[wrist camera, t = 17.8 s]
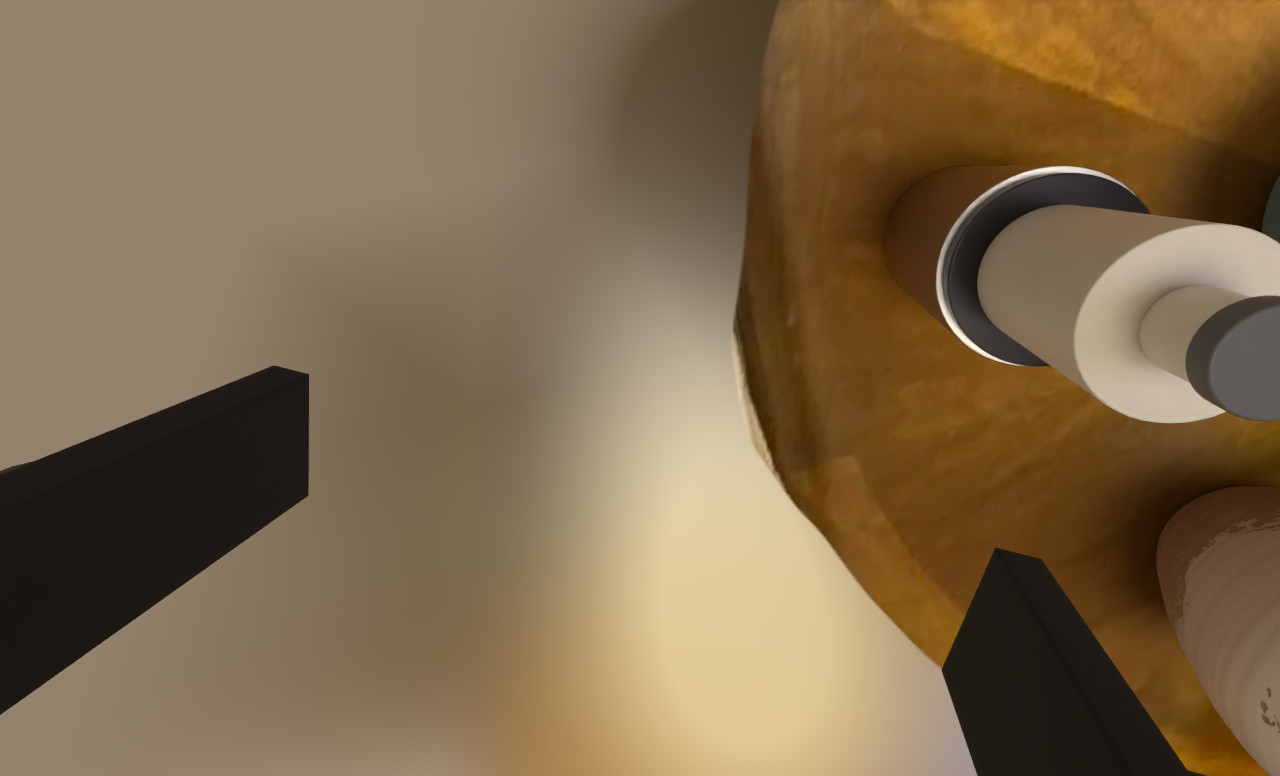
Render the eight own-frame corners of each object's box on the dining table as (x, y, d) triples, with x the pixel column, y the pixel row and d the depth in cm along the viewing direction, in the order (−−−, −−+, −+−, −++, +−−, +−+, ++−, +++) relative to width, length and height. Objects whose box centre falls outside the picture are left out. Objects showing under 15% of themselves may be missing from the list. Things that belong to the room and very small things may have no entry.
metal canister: (854, 242, 45) (897, 281, 30) (962, 134, 41) (1069, 117, 27) (948, 330, 45) (1035, 411, 30) (1061, 231, 42) (1221, 266, 27)
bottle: (946, 280, 29) (1083, 367, 17) (1063, 173, 27) (1322, 179, 14) (1041, 369, 30) (1243, 520, 17) (1162, 270, 28) (1498, 359, 15)
